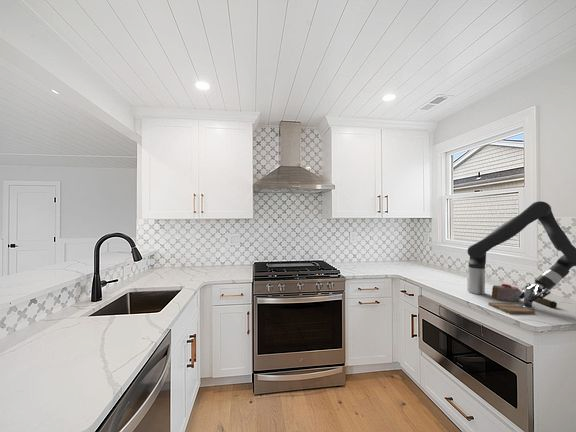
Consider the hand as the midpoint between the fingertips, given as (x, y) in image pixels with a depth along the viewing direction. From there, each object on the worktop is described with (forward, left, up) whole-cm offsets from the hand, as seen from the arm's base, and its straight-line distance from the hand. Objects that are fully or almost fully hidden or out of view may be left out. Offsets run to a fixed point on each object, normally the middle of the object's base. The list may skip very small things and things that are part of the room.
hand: (524, 299), depth 147 cm
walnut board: (+2, -10, -5) cm, 12 cm away
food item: (-15, +3, -5) cm, 16 cm away
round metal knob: (0, +2, -5) cm, 5 cm away
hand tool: (-9, +17, -5) cm, 20 cm away
